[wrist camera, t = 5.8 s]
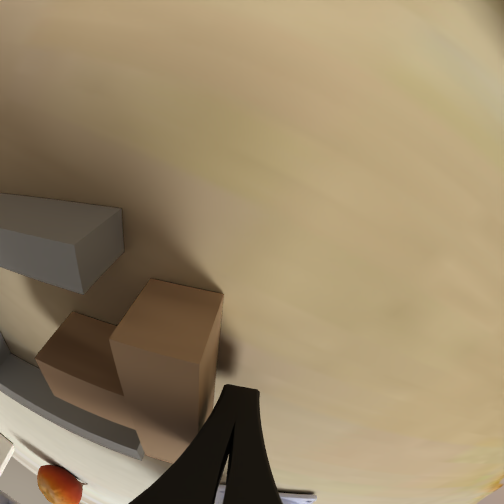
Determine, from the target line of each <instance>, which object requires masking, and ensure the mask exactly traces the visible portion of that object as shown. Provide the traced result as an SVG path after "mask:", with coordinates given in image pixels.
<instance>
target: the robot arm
mask: <svg viewBox="0 0 504 504" xmlns="http://www.w3.org/2000/svg"><path fill="white" fill-rule="evenodd" d="M259 395H260V392H259V391H258V390H257V389H251V388H246V387H240V386H235V385H230V384H226V385H224V387H223V390H222V393H221V395H220V397H219V399H218V401H217V403H216V405H215V407H214V409H213V410H212V412H211V414H210V416H209V417H208V419H207V420H206V422H205V423H204V425H203V427H202V428H201V430H200V431H199V433H198V434H197V435H196V437H195V438H194V439H193V441H192V442H191V443H190V445H189V446H188V447H187V448H186V450H185V451H184V452H183V453H182V454H181V456H180V457H179V458H178V459H177V460H176V461H175V462H174V463H173V465H172V466H171V467H170V468H169V469H168V470H167V471H166V472H165V473H164V474H163V475H162V476H161V477H160V478H159V479H158V480H157V481H156V482H154V483H153V484H152V485H151V486H150V487H149V488H148V489H146V490H145V491H144V492H143V493H141V494H140V495H139V496H138V497H136V498H135V499H134V500H133V501H131V502H130V503H129V504H214V503H215V504H312V503H313V502H315V501H316V500H317V496H316V495H306V494H289V493H278V490H277V487H276V484H275V481H274V478H273V475H272V472H271V469H270V465H269V461H268V457H267V453H266V449H265V444H264V439H263V433H262V427H261V419H260V407H259ZM228 455H229V460H228V470H227V479H226V485H219V483H220V480H221V477H222V474H223V471H224V468H225V464H226V461H227V458H228ZM0 504H19V503H18V502H17V501H15V500H14V499H12V498H11V497H10V496H8V495H7V494H5V493H4V492H2V491H1V490H0Z"/></svg>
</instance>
